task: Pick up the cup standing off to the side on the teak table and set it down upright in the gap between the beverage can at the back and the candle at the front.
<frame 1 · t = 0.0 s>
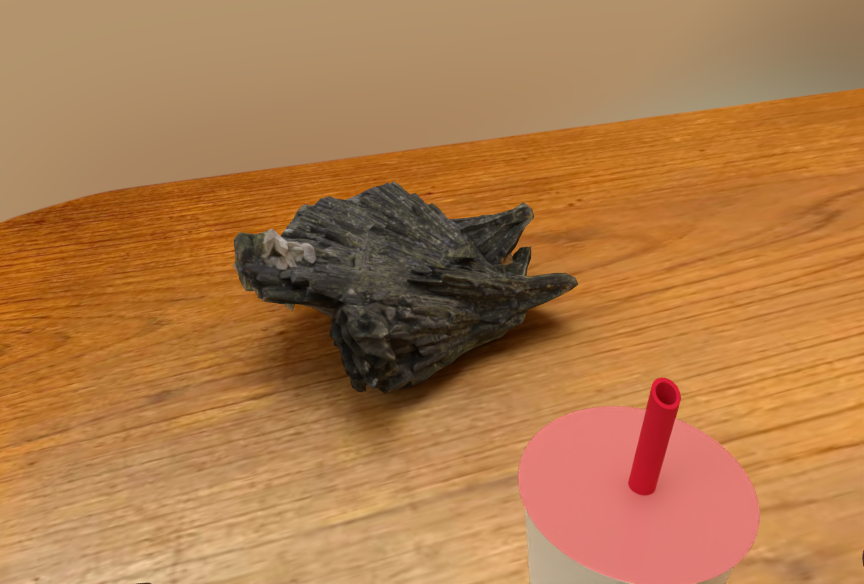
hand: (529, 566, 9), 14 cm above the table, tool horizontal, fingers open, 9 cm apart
mineral specimen: (413, 345, 36), on the table
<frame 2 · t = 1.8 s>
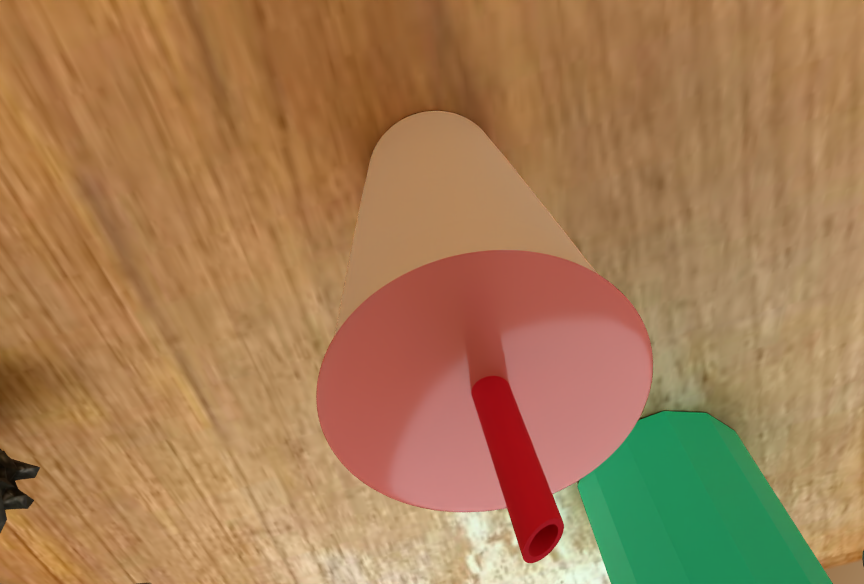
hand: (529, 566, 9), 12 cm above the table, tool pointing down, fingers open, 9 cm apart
cup: (432, 170, 19), on the table
candle: (657, 468, 26), on the table
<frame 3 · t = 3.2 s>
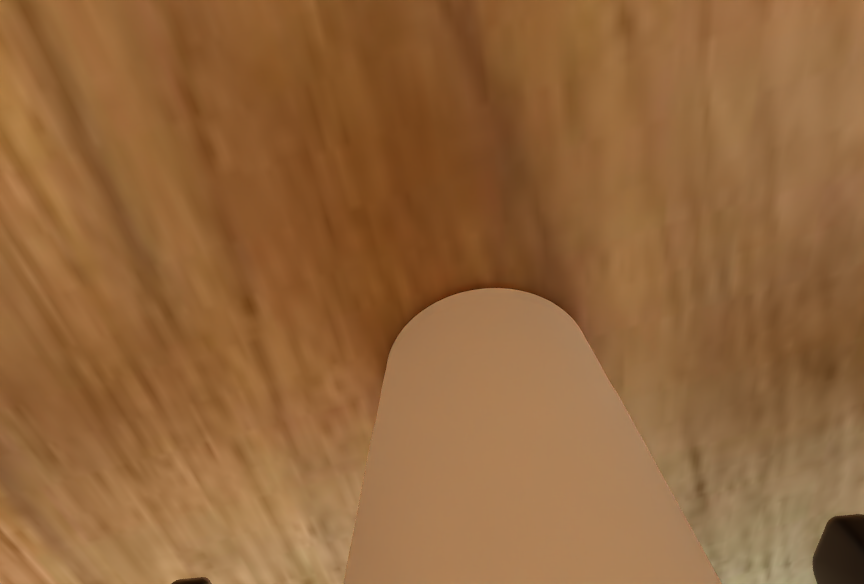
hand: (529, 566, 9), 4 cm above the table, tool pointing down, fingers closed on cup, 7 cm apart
cup: (486, 365, 12), on the table, touching gripper
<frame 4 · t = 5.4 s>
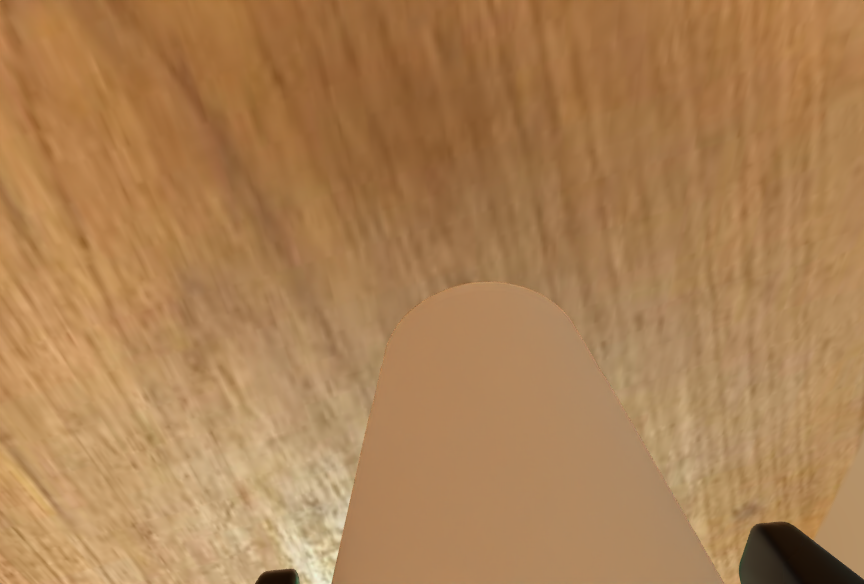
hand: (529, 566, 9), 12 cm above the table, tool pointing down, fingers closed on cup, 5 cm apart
cup: (482, 360, 13), point 7 cm above the table, touching gripper
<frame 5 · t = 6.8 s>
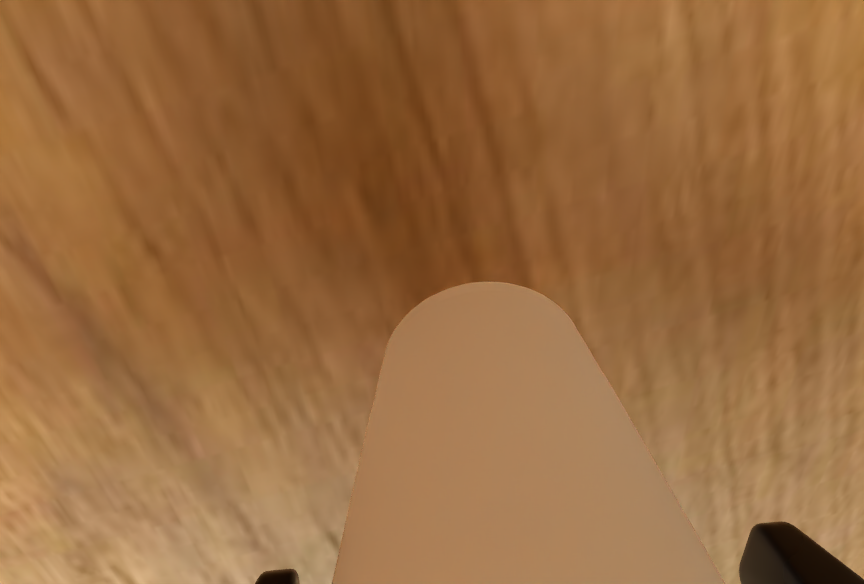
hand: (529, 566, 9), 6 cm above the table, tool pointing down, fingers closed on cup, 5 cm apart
cup: (482, 360, 12), point 2 cm above the table, touching gripper
when the fingers open (4 cm above the table, at t = 7.8 s): cup stays where it is, on the table.
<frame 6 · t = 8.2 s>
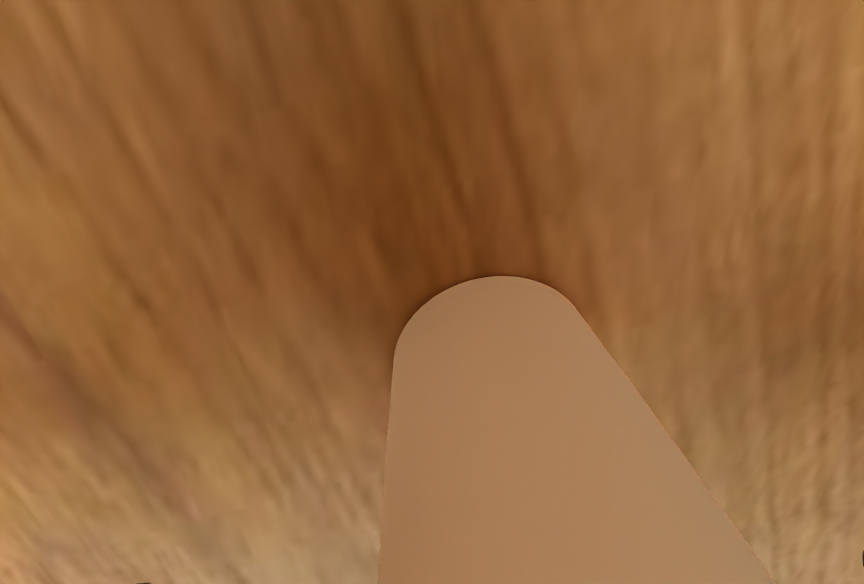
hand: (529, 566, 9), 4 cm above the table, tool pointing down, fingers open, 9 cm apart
cup: (489, 352, 13), on the table
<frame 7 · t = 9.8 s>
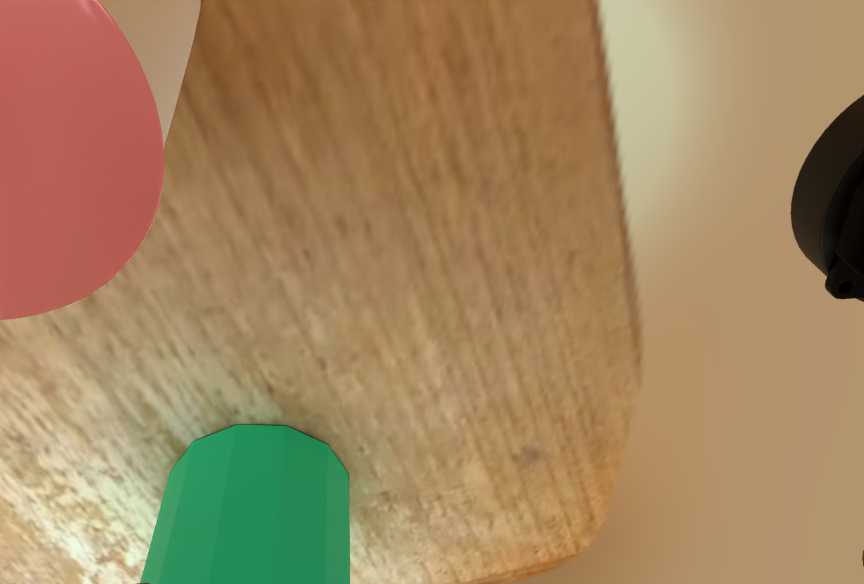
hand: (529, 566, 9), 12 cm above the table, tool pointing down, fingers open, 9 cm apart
candle: (261, 484, 25), on the table
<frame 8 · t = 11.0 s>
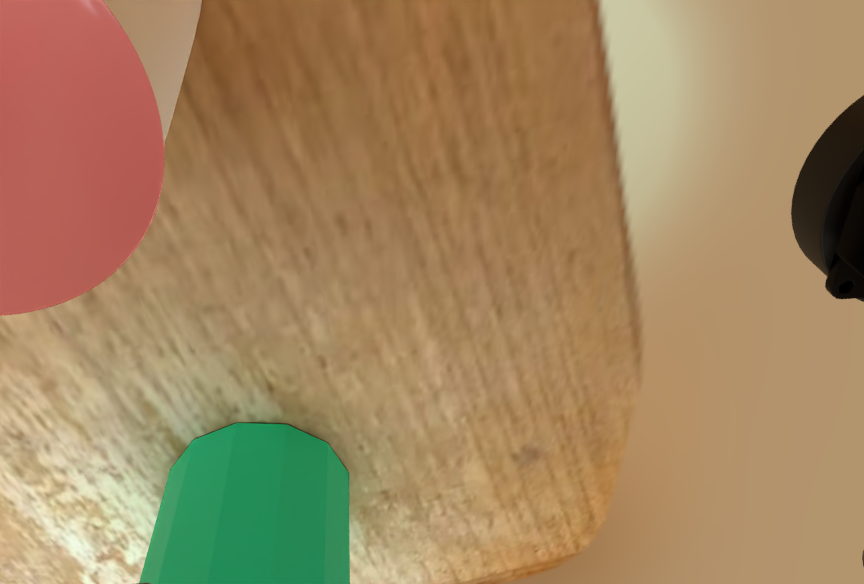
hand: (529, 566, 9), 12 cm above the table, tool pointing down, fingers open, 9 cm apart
candle: (261, 483, 25), on the table
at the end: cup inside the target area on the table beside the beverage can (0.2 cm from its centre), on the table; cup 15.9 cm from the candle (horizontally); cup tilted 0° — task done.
